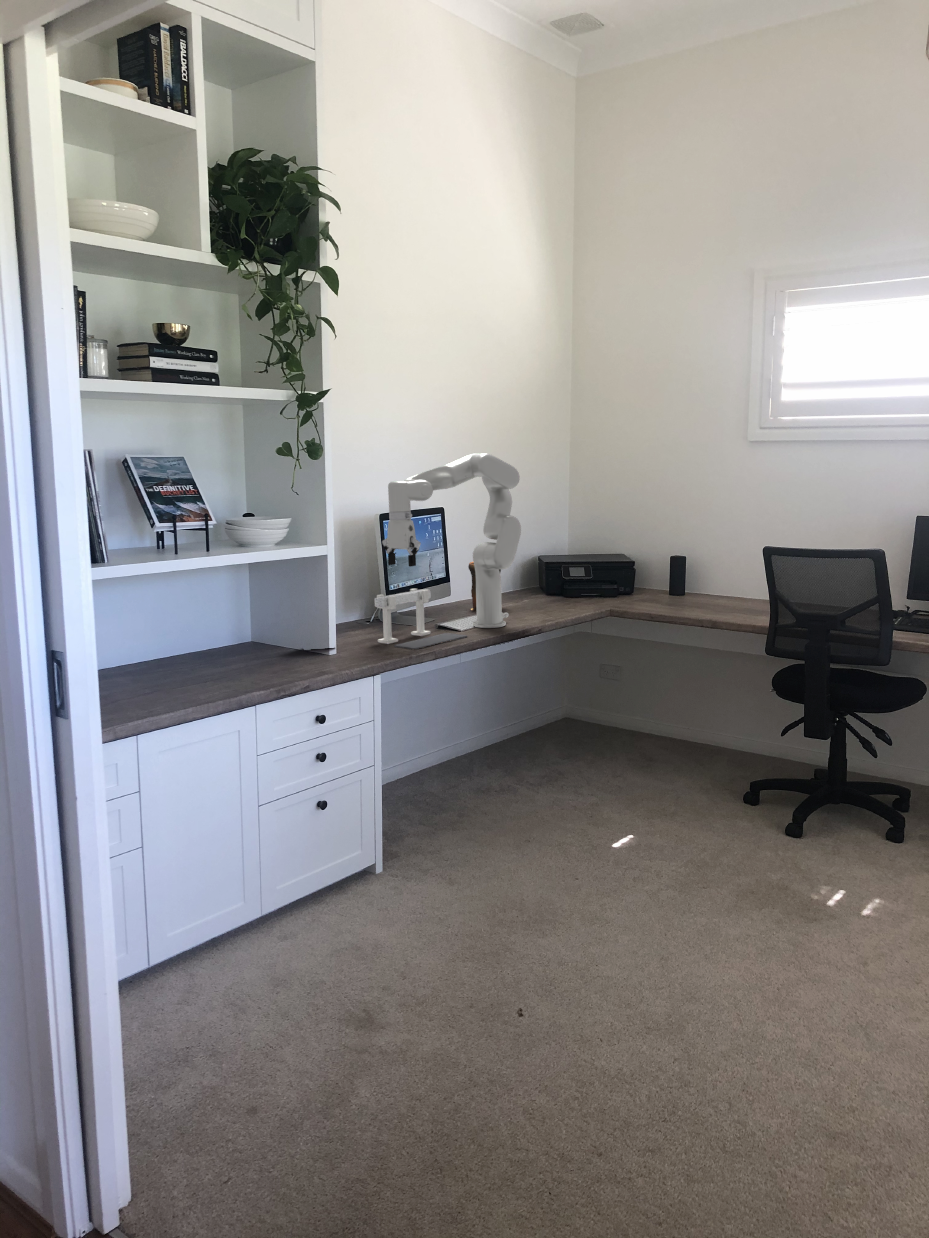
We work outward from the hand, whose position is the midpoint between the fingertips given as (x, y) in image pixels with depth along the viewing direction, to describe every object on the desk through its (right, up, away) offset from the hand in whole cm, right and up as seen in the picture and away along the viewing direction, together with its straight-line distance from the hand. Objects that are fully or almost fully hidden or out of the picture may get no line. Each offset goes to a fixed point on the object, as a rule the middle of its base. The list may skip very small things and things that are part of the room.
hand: (402, 565), depth 335 cm
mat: (+10, -27, -3) cm, 29 cm away
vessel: (+31, -15, +64) cm, 73 cm away
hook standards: (+1, -26, +6) cm, 26 cm away
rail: (0, -13, +3) cm, 13 cm away
